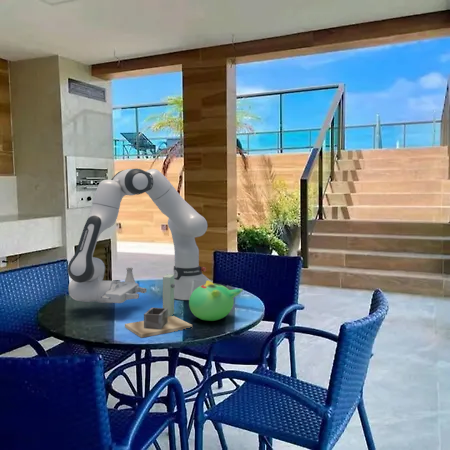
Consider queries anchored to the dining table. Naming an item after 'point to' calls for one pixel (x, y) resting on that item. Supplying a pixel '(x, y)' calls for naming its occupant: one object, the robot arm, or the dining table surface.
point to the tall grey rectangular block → (168, 293)
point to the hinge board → (152, 332)
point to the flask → (129, 275)
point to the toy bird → (212, 301)
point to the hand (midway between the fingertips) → (142, 293)
